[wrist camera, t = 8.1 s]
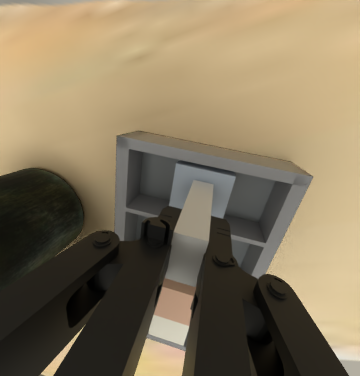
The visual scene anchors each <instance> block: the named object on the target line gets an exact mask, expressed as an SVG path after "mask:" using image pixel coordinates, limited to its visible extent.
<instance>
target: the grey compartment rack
mask: <svg viewBox="0 0 360 376" xmlns="http://www.w3.org/2000/svg"><path fill="white" fill-rule="evenodd" d="M179 160H183V161H187V162H192V163H196V164H201V165H206V166H210V167H215V168H220V169H224V170H229V171H233V172H235V175H236V178H235V181H234V185H233V188H232V191H231V194H230V198H229V201H228V204H227V207H226V210H225V214H224V217H223V219H226V220H227V222H228V223H229V225H230V232H231V242H232V253H233V256H234V258H235V259H236V260H237V263H238V266H239V267H240V268H241V269H242V270H243V271H245V272H246V273H248V274H250V275H252V276H254V277H256V278H257V279H259V277H260V276H262V275H264V274H265V273H266V271H267V269H268V267H269V265H270V263H271V261H272V259H273V257H274V255H275V253H276V251H277V249H278V247H279V245H280V243H281V241H282V239H283V237H284V235H285V233H286V231H287V229H288V227H289V225H290V223H291V221H292V219H293V217H294V215H295V213H296V211H297V209H298V207H299V205H300V203H301V201H302V199H303V197H304V195H305V193H306V191H307V189H308V187H309V185H310V183H311V181H312V179H313V176H311V175H310V174H309V173H307V172H306V171H304V170H303V169H301V168H300V167H298V166H297V165H295V164H294V163H292V162H289V161H284V160H279V159H274V158H269V157H264V156H259V155H255V154H250V153H245V152H240V151H235V150H230V149H225V148H220V147H215V146H210V145H205V144H201V143H196V142H191V141H186V140H181V139H176V138H171V137H166V136H161V135H156V134H151V133H147V132H142V131H135V132H131V133H126V134H122V135H117V147H116V189H115V231H114V232H115V233H116V234H117V235H118V236H119V239H120V241H136V240H139V239H140V235H141V225H142V221H144V220H145V219H147V218H150V217H158V216H159V215H160V212H161V211H162V209H163V208H165V207H167V206H169V204H170V198H171V192H172V185H173V179H174V173H175V167H176V163H177V162H178V161H179ZM188 331H189V329H188ZM148 333H149V331H148ZM146 338H148V339H151V340H154V341H157V342H160V343H163V344H166V345H169V346H172V347H175V348H178V349H181V350H184V351H186V345H187V338H188V333H187V336H186V339H185V342H184V345H183V346H182V345H179V344H176V343H173V342H170V341H167V340H164V339H161V338H158V337H155V336H152V335H149V334H147V337H146Z"/></svg>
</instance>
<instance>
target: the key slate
mask: <svg viewBox="0 0 360 376" xmlns="http://www.w3.org/2000/svg"><path fill="white" fill-rule="evenodd" d="M235 178H236V175H235V172H233V171H229V170H224V169H220V168H215V167H210V166H206V165H201V164H196V163H192V162H187V161H183V160H179V161H178V162H177V163H176V167H175V173H174V179H173V185H172V192H171V198H170V204H169V206H172V207H176V208H180V209H183V206H184V204H185V201H186V199H187V196H188V193H189V191H190V188H191V186H192V183H193V180H197V181H201V182H206V183H210V184H214V186H213V198H212V210H211V216H214V217H218V218H222V219H223V217H224V214H225V210H226V207H227V204H228V201H229V198H230V194H231V191H232V188H233V185H234V181H235Z"/></svg>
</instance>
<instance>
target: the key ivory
mask: <svg viewBox="0 0 360 376" xmlns="http://www.w3.org/2000/svg"><path fill="white" fill-rule="evenodd" d="M188 329H189V326H187V325H184V324H181V323H178V322H175V321H172V320H169V319H165V318H162V317H159V316H156V315H153V318H152V321H151V324H150V328H149V333H148V334H149V335H152V336H155V337H158V338H161V339H164V340H167V341H170V342H173V343H176V344H179V345H182V346H183V345H184V342H185V339H186V336H187V333H188Z"/></svg>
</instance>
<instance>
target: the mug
mask: <svg viewBox="0 0 360 376" xmlns="http://www.w3.org/2000/svg"><path fill="white" fill-rule="evenodd" d="M83 218H84V217H83V210H82V206H81V203H80V201H79V199H78V197H77V195H76V194H75V192H74V191H73V190H72V188H71V187H70V186H69V185H68V184H67V183H66V182H65V181H64V180H62V179H61V178H59V177H58V176H56V175H54V174H53V173H50V172H48V171H45V170H41V169H36V168H28V169H23V170H20V171H17V172H13V173H10V174H6V175H3V176H0V291H1V290H2V289H4V288H6V287H7V286H9V285H10V284H12V283H14V282H15V281H17V280H18V279H20V278H22V277H23V276H25V275H26V274H28V273H30V272H31V271H33V270H34V269H36V268H38V267H39V266H41V265H42V264H44V263H46V262H47V261H49V260H50V259H52V258H53V257H55V256H56V255H57V254H58V253H59V252H61V251H62V250H63V249H64V248H65V247H66V246H67V245H69V244H70V243H71V242H72V241H73V240H74V239H75V238H77V236H78V235H79V234H80V232H81V229H82V226H83Z"/></svg>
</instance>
